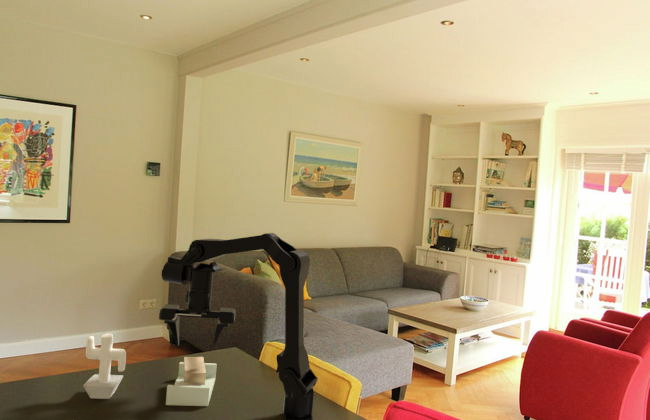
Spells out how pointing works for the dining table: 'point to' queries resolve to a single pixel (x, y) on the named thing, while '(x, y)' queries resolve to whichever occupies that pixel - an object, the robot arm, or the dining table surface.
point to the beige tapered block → (194, 371)
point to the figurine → (104, 367)
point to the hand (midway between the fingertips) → (195, 346)
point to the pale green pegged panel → (191, 389)
